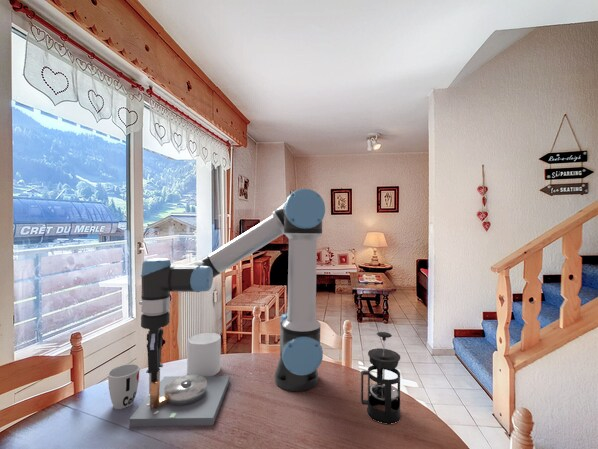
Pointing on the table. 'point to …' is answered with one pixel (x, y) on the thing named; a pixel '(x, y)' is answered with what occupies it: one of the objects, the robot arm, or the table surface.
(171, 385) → the dial
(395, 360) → the french press
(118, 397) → the cup
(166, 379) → the board
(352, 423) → the table surface
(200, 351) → the cup
